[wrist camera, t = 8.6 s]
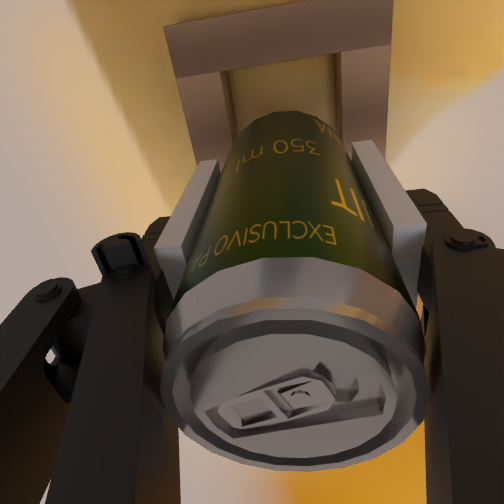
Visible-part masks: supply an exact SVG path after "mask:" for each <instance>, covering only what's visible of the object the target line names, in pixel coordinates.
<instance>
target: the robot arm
mask: <svg viewBox="0 0 504 504" xmlns="http://www.w3.org/2000/svg"><path fill="white" fill-rule="evenodd" d="M352 164H353V167H354V169H355V171H356V174H357V176H358V178H359V180H360V183H361V185H362V187H363V190H364V192H365V194H366V196H367V199H368V201H369V203H370V206H371V208H372V210H373V212H374V215H375V217H376V219H377V222H378V224H379V226H380V228H381V231H382V233H383V235H384V238H385V240H386V242H387V244H388V247H389V249H390V251H391V254H392V256H393V258H394V260H395V263H396V265H397V267H398V270H399V272H400V274H401V276H402V279H403V281H404V283H405V286H406V288H407V290H408V292H409V295H410V297H411V299H412V302H413V304H414V306H415V308H416V305H417V297H418V294H419V296H420V298H421V300H422V302H423V311H422V317H421V325H422V330H423V335H424V339H425V344H426V354H425V358H424V363H423V364H424V366H425V370H426V374H427V379H428V383H429V387H430V392H431V398H430V401H429V404H428V407H427V410H426V413H425V417H424V423H425V459H426V489H427V490H426V491H427V493H426V494H427V504H504V249H498V248H496V247H495V244H494V243H493V241H492V240H491V239H490V237H488V236H486V235H485V234H483V233H481V232H478V231H475V230H471V229H464V228H463V227H462V226H461V224H460V223H459V222H458V221H457V219H456V218H455V217H454V216H453V214H452V213H451V212H450V211H448V208H447V207H446V206H445V205H444V204H443V202H442V201H441V200H440V198H439V197H438V196H437V195H436V194H434V193H432V192H430V191H428V190H426V189H417V190H407V191H405V190H404V188H403V187H402V185H401V183H400V182H399V181H398V179H397V177H396V176H395V174H394V173H393V171H392V170H391V168H390V167H389V165H388V164H387V162H386V161H385V159H384V158H383V156H382V155H381V153H380V152H379V150H378V149H377V147H376V146H375V144H374V143H373V141H372V140H366V141H358V142H352ZM220 174H221V172H220V167H219V162H218V159H214V160H206V161H200V162H199V164H198V166H197V168H196V170H195V172H194V173H193V175H192V177H191V179H190V181H189V183H188V185H187V187H186V188H185V190H184V192H183V194H182V196H181V198H180V200H179V202H178V203H177V205H176V207H175V209H174V211H173V213H172V215H171V216H168V217H159V218H158V219H157V220H156V221H154V222H153V223H152V224H150V225H149V227H148V229H147V230H146V232H145V235H143V237H142V239H141V238H140V235H138V234H136V233H129V232H126V233H119V234H116V235H113V236H109V237H108V238H105V239H103V240H102V241H100V242H99V243H98V244H96V245H95V246H94V247H93V249H92V250H91V252H92V255H93V257H94V259H95V261H96V263H97V265H98V267H99V269H100V271H101V274H102V276H103V277H102V280H101V282H100V283H98V284H94V285H91V286H87V287H83V288H80V289H77V288H76V286H75V284H74V282H73V280H71V279H69V278H56V279H50V280H47V281H44V282H42V283H40V284H39V285H38V286H36V287H34V288H33V289H32V290H30V291H29V293H27V294H26V295H25V296H24V297H23V299H22V300H21V301H20V302H19V303H18V305H17V306H16V307H15V308H14V309H13V310H12V312H11V313H10V314H9V315H8V316H7V318H6V319H5V320H4V321H3V322H2V323H1V325H0V504H40V501H41V499H42V497H43V494H44V493H45V491H46V488H47V486H48V484H49V482H50V480H51V482H50V486H49V490H48V494H47V498H46V502H45V504H181V497H180V467H179V434H178V426H177V425H176V424H175V422H174V421H173V420H172V419H171V418H170V417H169V416H168V414H167V411H166V408H165V405H164V402H163V399H162V396H161V393H160V386H161V380H162V374H163V369H164V364H165V357H164V353H163V349H162V346H163V339H164V333H165V327H166V320H167V317H168V315H169V312H170V309H171V307H172V304H173V301H174V298H175V296H176V293H177V290H178V288H179V285H180V282H181V280H182V277H183V274H184V271H185V269H186V266H187V263H188V261H189V258H190V255H191V253H192V250H193V247H194V244H195V242H196V239H197V236H198V234H199V231H200V228H201V226H202V223H203V220H204V217H205V215H206V212H207V209H208V207H209V204H210V201H211V199H212V196H213V193H214V190H215V188H216V185H217V182H218V180H219V177H220ZM50 348H51V350H52V351H53V353H54V354H55V356H56V357H55V358H54V360H53V362H52V363H51V364H49V363H48V362H47V361H46V359H45V357H46V355H47V353H48V351H49V350H50Z"/></svg>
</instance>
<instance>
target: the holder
mask: <svg viewBox="0 0 504 504" xmlns="http://www.w3.org/2000/svg"><path fill="white" fill-rule="evenodd" d="M392 15H393V0H306V1H300V2H295V3H289V4H284V5H278V6H273V7H267V8H261V9H256V10H250V11H245V12H239V13H234V14H228V15H223V16H217V17H212V18H206V19H201V20H195V21H190V22H184V23H179V24H173V25H168V26H163V28H164V32H165V36H166V40H167V44H168V48H169V52H170V56H171V60H172V64H173V69H174V73H175V77H176V81H177V85H178V89H179V93H180V97H181V101H182V106H183V110H184V114H185V118H186V122H187V126H188V130H189V134H190V138H191V143H192V147H193V151H194V155H195V159H196V163H197V166H198V164H199V162H200V161H206V160H214V159H218V162H219V167H220V172H221V171H222V169H223V166H224V163H225V161H226V158H227V155H228V153H229V150H230V148H231V146H232V145H233V143H234V141H235V140H236V138H237V136H238V130H237V124H236V119H235V113H234V107H233V101H232V95H231V89H230V83H229V78H228V72H227V70H233V69H239V68H245V67H251V66H258V65H264V64H270V63H276V62H283V61H289V60H295V59H302V58H308V57H314V56H320V55H327V54H333V53H335V78H336V122H337V135H338V137H339V138H340V140H341V141H342V143H343V144H344V146H345V148H346V151H347V153H348V155H349V157H350V160H351V162H352V142H358V141H366V140H372V141H373V143H374V144H375V146H376V147H377V149H378V150H379V152H380V153H381V155H382V156H383V158H384V159H385V150H386V131H387V111H388V92H389V73H390V53H391V34H392Z"/></svg>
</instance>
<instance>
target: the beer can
mask: <svg viewBox="0 0 504 504" xmlns="http://www.w3.org/2000/svg"><path fill="white" fill-rule="evenodd" d="M162 349H163V353H164V357H165V364H164V369H163V374H162V380H161V386H160V393H161V396H162V399H163V402H164V405H165V408H166V411H167V414H168V416H169V417H170V418H171V419H172V420H173V421H174V422H175V424H176V425H177V426H178V427H179V428H180V429H181V430H182V432H183V433H184V434H185V435H186V436H188V437H189V438H190V439H192V440H193V441H195V442H197V443H198V444H200V445H201V446H203V447H204V448H206V449H207V450H209V451H210V452H213V453H215V454H218V455H220V456H223V457H226V458H228V459H231V460H233V461H236V462H239V463H241V464H246V465H251V466H256V467H261V468H266V469H271V470H280V471H306V472H310V471H319V470H326V469H335V468H344V467H347V466H351V465H354V464H357V463H360V462H364V461H367V460H370V459H373V458H376V457H378V456H380V455H382V454H383V453H385V452H387V451H388V450H390V449H392V448H394V447H396V446H397V445H399V444H401V443H403V442H404V441H405V440H406V439H407V438H408V437H409V436H410V435H411V433H412V432H413V431H414V430H415V429H416V428H417V427H418V426H419V425H420V424H421V423H422V422H423V420H424V417H425V413H426V410H427V407H428V404H429V401H430V398H431V392H430V387H429V383H428V379H427V374H426V370H425V366H424V364H423V363H424V358H425V354H426V344H425V339H424V335H423V330H422V325H421V321H420V318H419V316H418V313H417V311H416V308H415V306H414V304H413V302H412V299H411V297H410V295H409V292H408V290H407V288H406V286H405V283H404V281H403V279H402V276H401V274H400V272H399V270H398V267H397V265H396V263H395V260H394V258H393V256H392V254H391V251H390V249H389V247H388V244H387V242H386V240H385V238H384V235H383V233H382V231H381V228H380V226H379V224H378V222H377V219H376V217H375V215H374V212H373V210H372V208H371V206H370V203H369V201H368V199H367V196H366V194H365V192H364V190H363V187H362V185H361V183H360V180H359V178H358V176H357V174H356V171H355V169H354V167H353V164H352V162H351V160H350V157H349V155H348V153H347V151H346V148H345V146H344V144H343V143H342V141H341V140H340V138H339V137H338V135H337V134H336V133H335V131H334V130H333V128H331V127H330V126H329V125H327V124H326V123H324V122H323V121H321V120H320V119H319V118H317V117H316V116H312V115H309V114H305V113H301V112H298V111H285V112H274V113H271V114H269V115H266V116H264V117H261V118H259V119H256V120H254V121H253V122H252V123H251V124H250V125H248V126H247V127H246V128H245V129H244V130H243V131H241V132H240V133H239V135H238V136H237V138H236V140H235V141H234V143H233V145H232V146H231V148H230V150H229V153H228V155H227V158H226V161H225V163H224V166H223V169H222V171H221V174H220V177H219V180H218V182H217V185H216V188H215V190H214V193H213V196H212V199H211V201H210V204H209V207H208V209H207V212H206V215H205V217H204V220H203V223H202V226H201V228H200V231H199V234H198V236H197V239H196V242H195V244H194V247H193V250H192V253H191V255H190V258H189V261H188V263H187V266H186V269H185V271H184V274H183V277H182V280H181V282H180V285H179V288H178V290H177V293H176V296H175V298H174V301H173V304H172V307H171V309H170V312H169V315H168V317H167V320H166V327H165V333H164V339H163V346H162Z"/></svg>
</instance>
